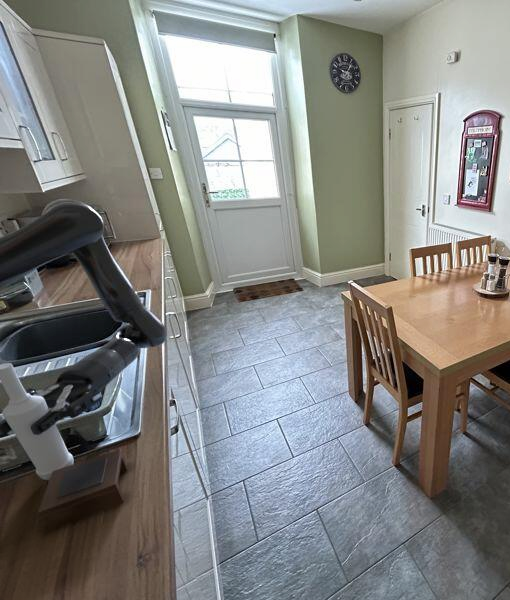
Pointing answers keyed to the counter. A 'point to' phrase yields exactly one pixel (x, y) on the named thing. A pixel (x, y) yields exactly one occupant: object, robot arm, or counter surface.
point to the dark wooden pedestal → (83, 489)
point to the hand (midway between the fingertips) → (17, 430)
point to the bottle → (22, 414)
